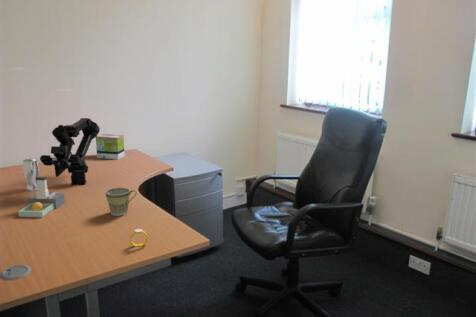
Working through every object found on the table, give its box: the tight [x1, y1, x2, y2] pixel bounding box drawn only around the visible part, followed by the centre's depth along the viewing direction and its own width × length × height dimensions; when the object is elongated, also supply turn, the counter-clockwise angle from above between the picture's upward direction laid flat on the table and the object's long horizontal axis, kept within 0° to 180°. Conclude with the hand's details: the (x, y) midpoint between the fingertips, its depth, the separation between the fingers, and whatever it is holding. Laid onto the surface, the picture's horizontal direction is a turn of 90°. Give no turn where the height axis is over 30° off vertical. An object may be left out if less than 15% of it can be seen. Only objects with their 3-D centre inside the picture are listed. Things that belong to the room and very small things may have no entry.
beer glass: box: [22, 158, 40, 192], centre depth 210 cm, size 7×7×15 cm
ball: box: [32, 202, 43, 211], centre depth 181 cm, size 4×4×4 cm
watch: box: [129, 228, 149, 248], centre depth 150 cm, size 6×3×6 cm, turn 108°
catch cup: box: [17, 203, 55, 218], centre depth 181 cm, size 10×10×2 cm
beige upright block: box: [35, 176, 50, 199], centre depth 184 cm, size 2×4×9 cm, turn 86°
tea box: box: [95, 133, 125, 161], centre depth 275 cm, size 15×10×15 cm
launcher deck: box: [28, 191, 66, 210], centre depth 189 cm, size 8×12×6 cm, turn 86°
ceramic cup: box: [105, 187, 138, 217], centre depth 180 cm, size 13×10×10 cm
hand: (56, 176), depth 197 cm, fingers closed
